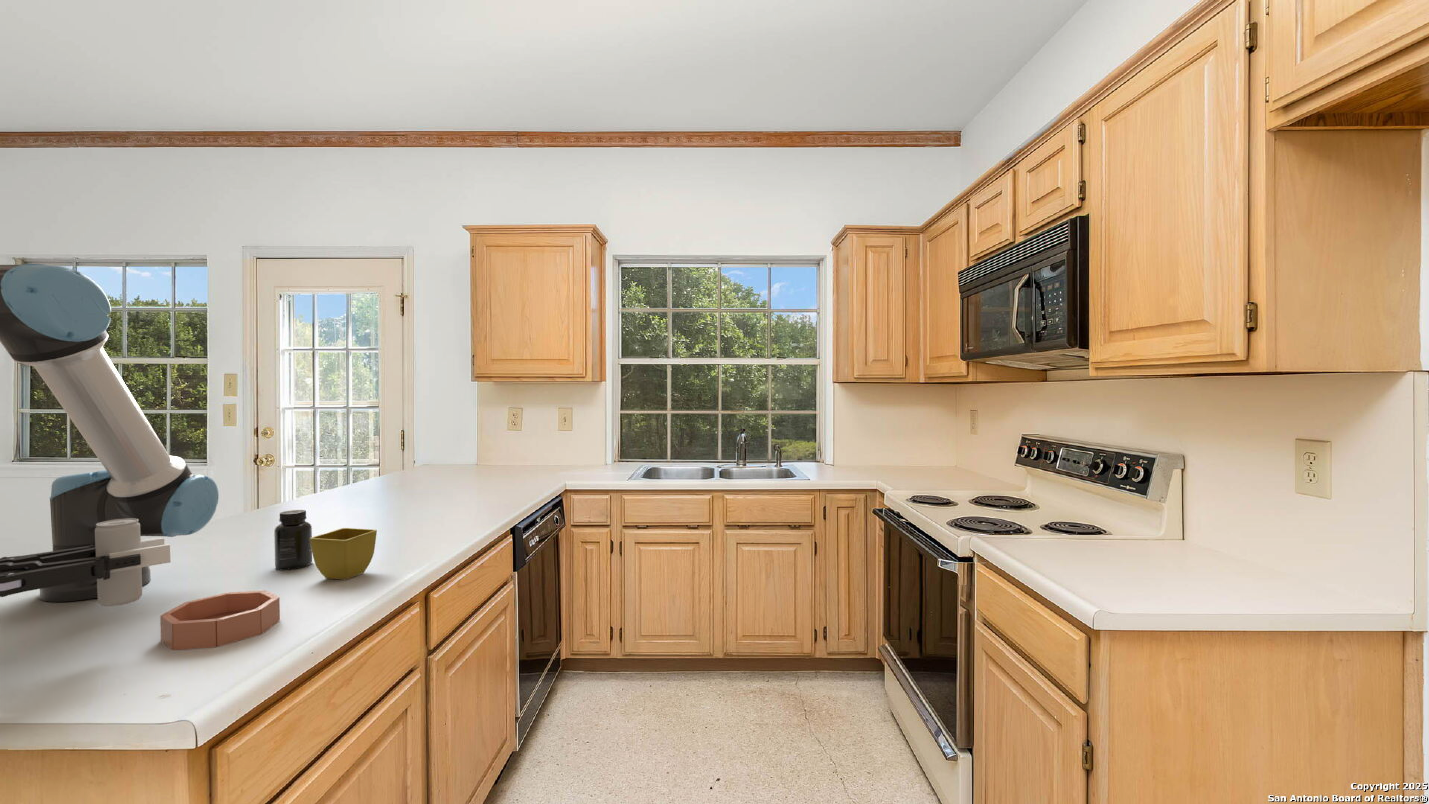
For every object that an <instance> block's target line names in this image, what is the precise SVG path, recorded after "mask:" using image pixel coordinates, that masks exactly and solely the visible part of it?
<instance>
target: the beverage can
mask: <svg viewBox="0 0 1429 804" xmlns="http://www.w3.org/2000/svg"><path fill="white" fill-rule="evenodd" d="M138 521H139V519H136V518H126V519H116V520H109V521H104V522H100V523H97V524H96V528H95V548H96V557H101V556H109V553H114V552H121V551H127V550H133V549H140V548H141V541H142V540H141V537H142V536H140V523H138ZM97 595H98V598H97V603H98V604H99V605H101V606H102V607H117V606H123V605H127V604H130V603H135V602H137V600H139V599H141V597H142V595H143V586H142V567H141V568H135V569H129V570H124V571H118V572H112V573H110V579H106V580H103V578H101V579H97Z"/></svg>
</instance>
